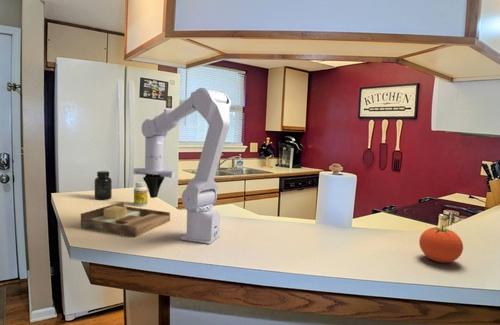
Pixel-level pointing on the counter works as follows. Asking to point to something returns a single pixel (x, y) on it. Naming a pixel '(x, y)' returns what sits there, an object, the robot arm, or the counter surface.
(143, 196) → the supplement bottle
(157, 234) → the counter surface
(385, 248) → the counter surface
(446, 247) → the tomato
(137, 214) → the box
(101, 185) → the supplement bottle
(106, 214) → the block
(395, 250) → the counter surface
